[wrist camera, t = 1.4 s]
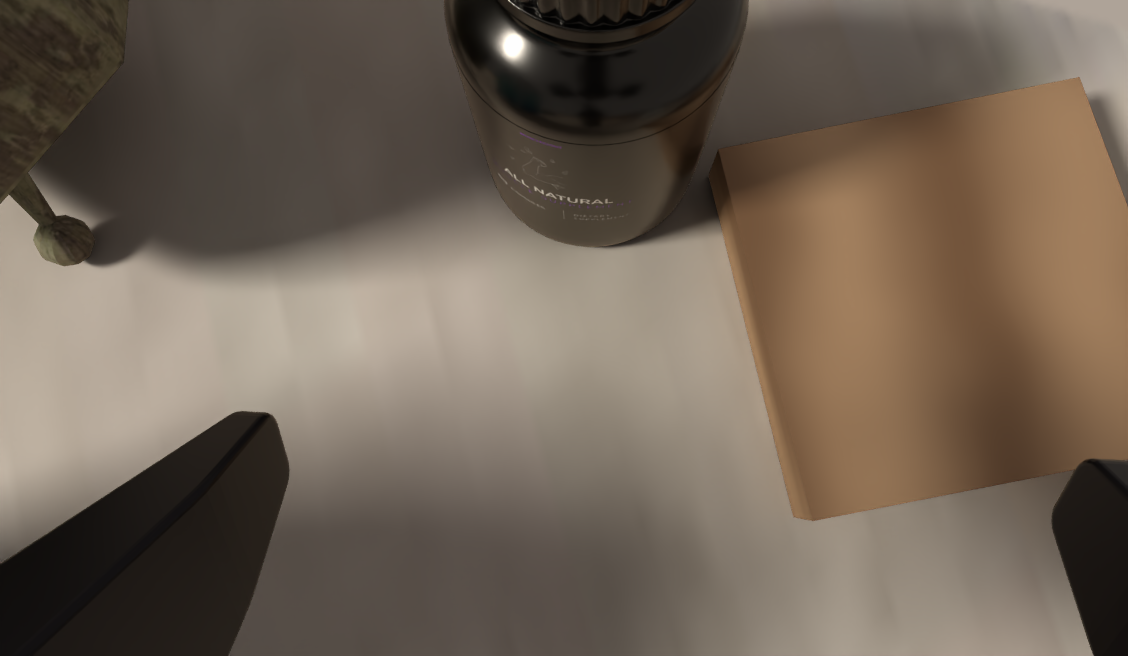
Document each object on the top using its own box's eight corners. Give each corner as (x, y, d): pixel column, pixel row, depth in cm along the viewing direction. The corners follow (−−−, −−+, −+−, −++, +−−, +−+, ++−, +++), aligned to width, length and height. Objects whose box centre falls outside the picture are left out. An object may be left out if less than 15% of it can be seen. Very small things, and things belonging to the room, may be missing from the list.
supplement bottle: (523, 280, 24) (448, 83, 12) (468, 94, 25) (353, -247, 13) (727, 218, 24) (854, -37, 12) (661, 38, 25) (717, -352, 13)
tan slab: (793, 517, 22) (813, 520, 20) (708, 175, 24) (718, 148, 22) (1160, 445, 22) (1215, 442, 20) (1039, 109, 24) (1079, 77, 22)
